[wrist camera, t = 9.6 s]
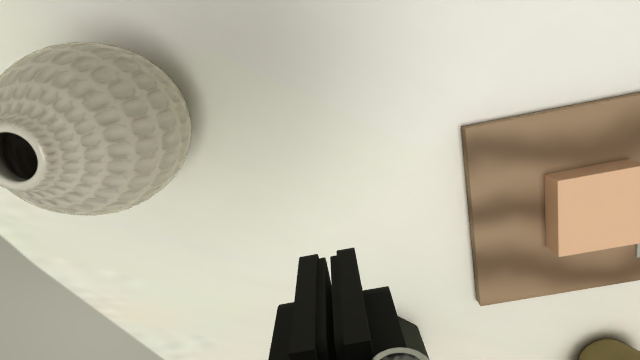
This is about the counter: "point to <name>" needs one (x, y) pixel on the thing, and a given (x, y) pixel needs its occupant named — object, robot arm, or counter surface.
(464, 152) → the board
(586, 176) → the tile
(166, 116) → the vase
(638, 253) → the turner
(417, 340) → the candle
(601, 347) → the squeeze bottle
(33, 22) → the counter surface
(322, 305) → the robot arm
